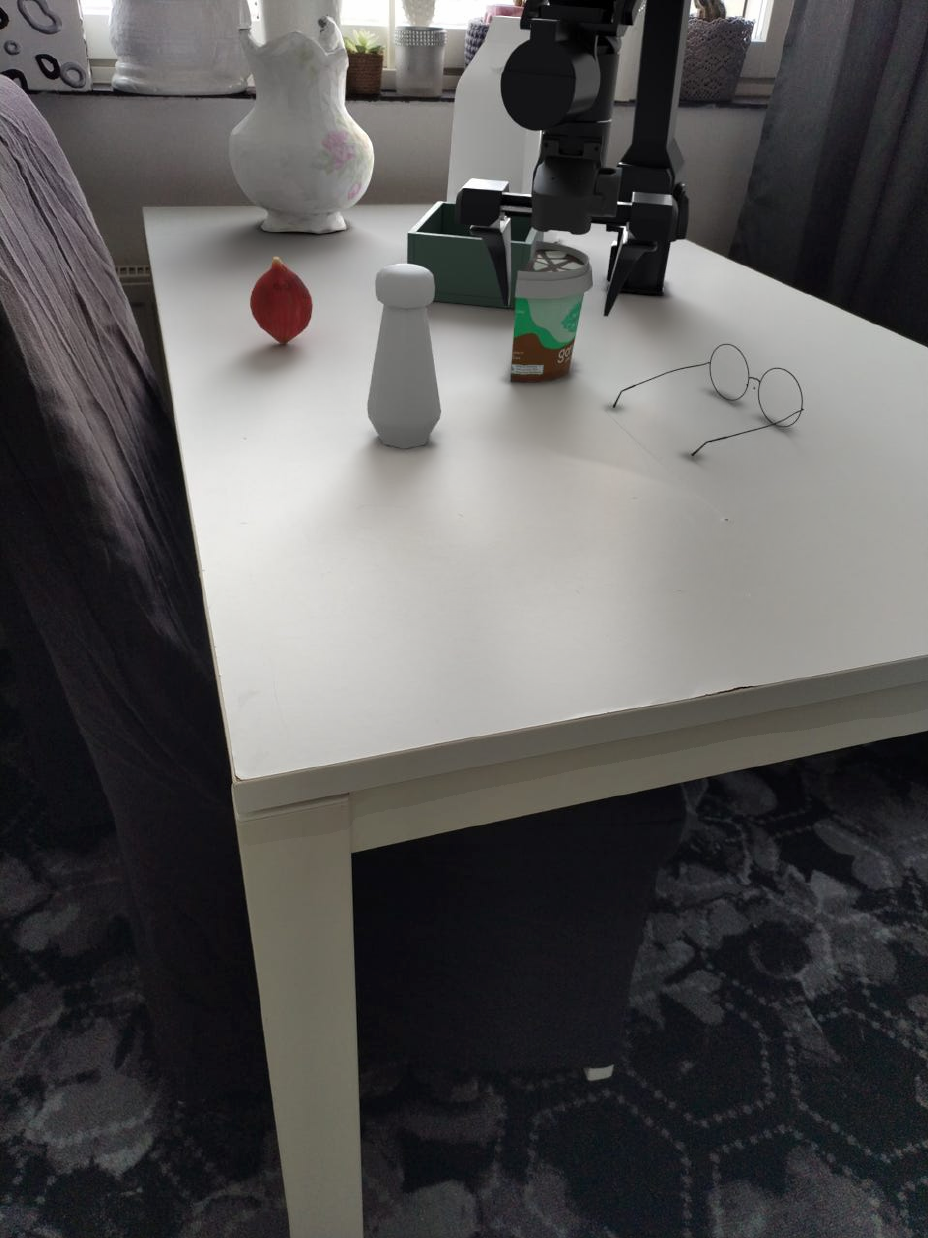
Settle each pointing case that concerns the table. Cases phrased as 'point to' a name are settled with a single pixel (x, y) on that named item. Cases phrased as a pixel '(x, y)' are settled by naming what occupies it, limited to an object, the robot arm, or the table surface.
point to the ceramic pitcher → (300, 132)
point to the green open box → (466, 257)
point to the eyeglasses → (729, 399)
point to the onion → (281, 303)
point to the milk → (491, 121)
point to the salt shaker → (404, 359)
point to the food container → (548, 311)
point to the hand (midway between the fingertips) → (555, 310)
